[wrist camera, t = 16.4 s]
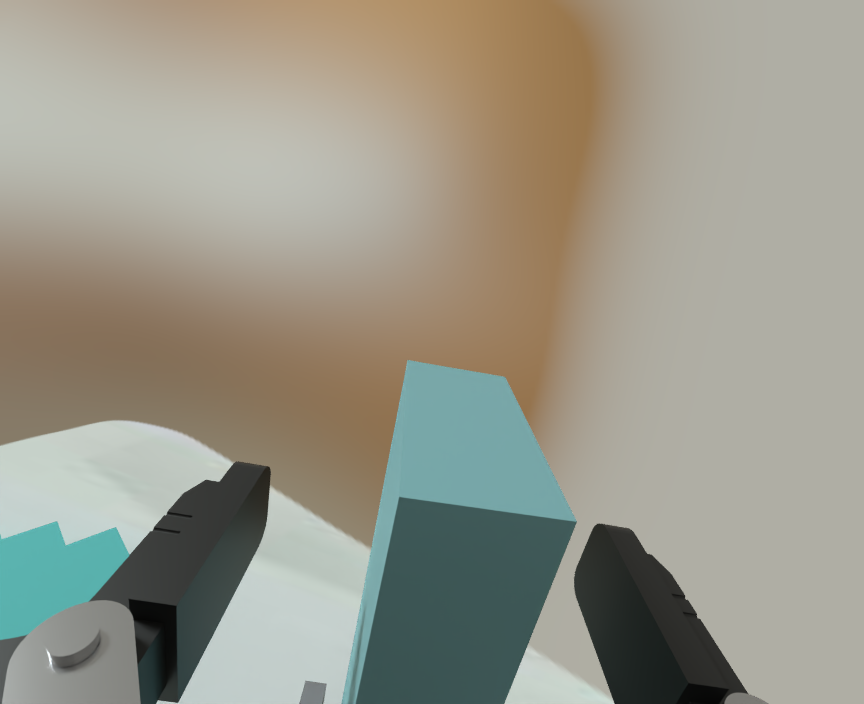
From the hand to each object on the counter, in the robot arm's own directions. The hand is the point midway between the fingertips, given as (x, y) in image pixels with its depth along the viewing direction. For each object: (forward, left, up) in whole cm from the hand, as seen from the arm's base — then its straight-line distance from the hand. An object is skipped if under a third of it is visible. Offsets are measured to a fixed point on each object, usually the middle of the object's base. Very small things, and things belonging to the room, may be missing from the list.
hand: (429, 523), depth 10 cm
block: (-1, 0, -14) cm, 15 cm away
